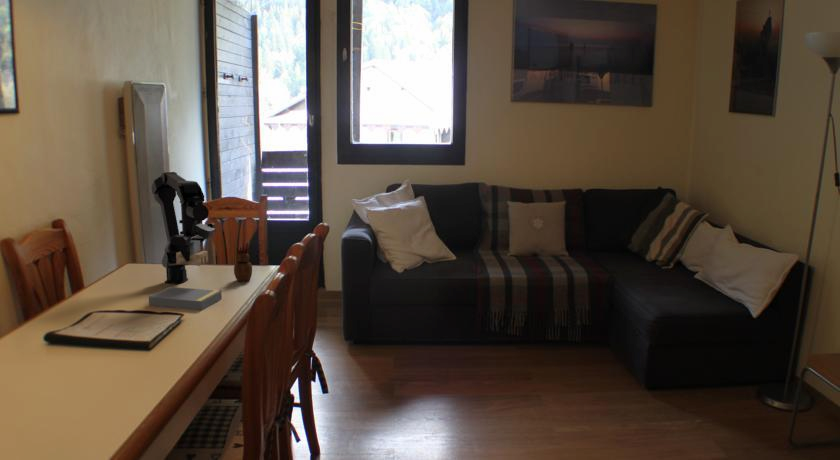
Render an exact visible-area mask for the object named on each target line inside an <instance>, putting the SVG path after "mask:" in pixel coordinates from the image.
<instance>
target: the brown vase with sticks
mask: <svg viewBox="0 0 840 460" xmlns="http://www.w3.org/2000/svg"><path fill="white" fill-rule="evenodd" d="M248 246H249V244H248V242H246V244H244V243H243V244H242V246H240V248H238V249H237V253H236V256H235V258H236V262H235V263H234V266H233V274H234V277H235V279H236V280H237V281H238V282H241V281H242V282H243V281H245V282H248V281H250V280H251V279H252V274H253V266H252V265H253V264H252V263H251V262H250V261H249V260H250V254H249V253H248V252H249V248H248Z"/></svg>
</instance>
